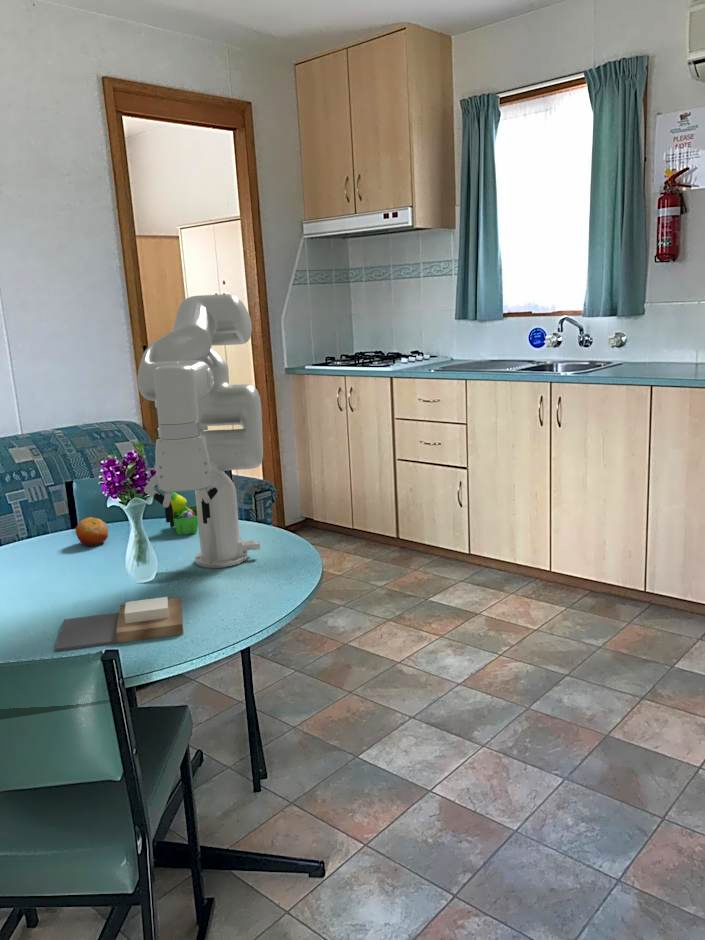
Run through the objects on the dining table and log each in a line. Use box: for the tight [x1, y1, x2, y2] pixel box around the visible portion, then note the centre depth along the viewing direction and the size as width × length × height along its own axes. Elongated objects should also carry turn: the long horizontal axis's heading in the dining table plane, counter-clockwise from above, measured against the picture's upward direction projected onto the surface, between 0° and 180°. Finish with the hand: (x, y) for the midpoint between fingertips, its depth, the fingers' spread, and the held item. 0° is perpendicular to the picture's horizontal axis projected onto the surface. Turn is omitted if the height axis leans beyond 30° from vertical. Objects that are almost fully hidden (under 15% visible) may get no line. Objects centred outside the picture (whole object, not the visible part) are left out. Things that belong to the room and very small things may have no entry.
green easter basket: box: [170, 492, 199, 535], centre depth 214 cm, size 11×9×11 cm
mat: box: [54, 611, 119, 652], centre depth 150 cm, size 11×14×1 cm
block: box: [124, 596, 169, 623], centre depth 151 cm, size 8×6×2 cm
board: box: [116, 597, 184, 644], centre depth 152 cm, size 12×14×2 cm
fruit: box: [75, 516, 109, 547], centre depth 205 cm, size 8×8×8 cm
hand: (188, 522), depth 150 cm, fingers open, 5 cm apart
